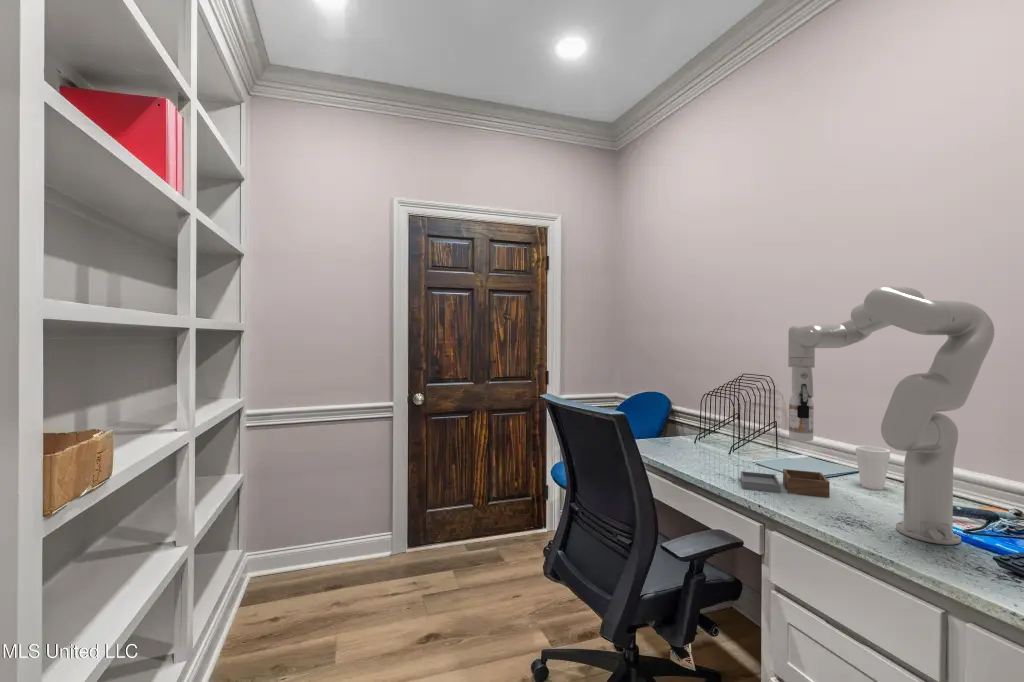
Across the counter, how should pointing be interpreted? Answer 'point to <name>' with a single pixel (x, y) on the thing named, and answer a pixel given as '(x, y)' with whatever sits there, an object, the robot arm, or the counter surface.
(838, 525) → the counter surface
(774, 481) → the tray
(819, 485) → the small wooden crate
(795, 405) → the bath foam
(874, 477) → the foam cup
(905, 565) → the counter surface
